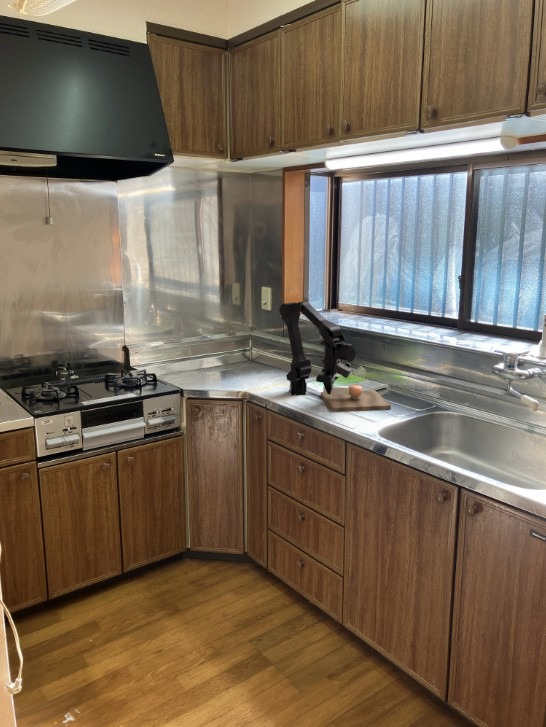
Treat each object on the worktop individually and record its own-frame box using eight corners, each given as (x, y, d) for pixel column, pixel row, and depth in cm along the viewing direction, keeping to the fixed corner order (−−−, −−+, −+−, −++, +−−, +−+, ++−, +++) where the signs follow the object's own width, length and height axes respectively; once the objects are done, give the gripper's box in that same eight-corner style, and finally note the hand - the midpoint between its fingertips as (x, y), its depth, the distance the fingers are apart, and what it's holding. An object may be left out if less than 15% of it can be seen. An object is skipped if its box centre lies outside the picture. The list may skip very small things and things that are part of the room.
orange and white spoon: (360, 391, 249) (360, 385, 248) (362, 396, 243) (363, 389, 243) (322, 391, 249) (322, 384, 248) (323, 395, 243) (324, 388, 242)
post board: (332, 411, 236) (332, 403, 235) (320, 395, 255) (320, 388, 254) (390, 408, 239) (391, 401, 238) (374, 393, 258) (375, 386, 257)
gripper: (344, 364, 228) (342, 403, 232) (356, 354, 245) (353, 391, 249) (316, 361, 232) (314, 399, 236) (330, 351, 249) (328, 387, 253)
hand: (328, 394), depth 243 cm, fingers closed
